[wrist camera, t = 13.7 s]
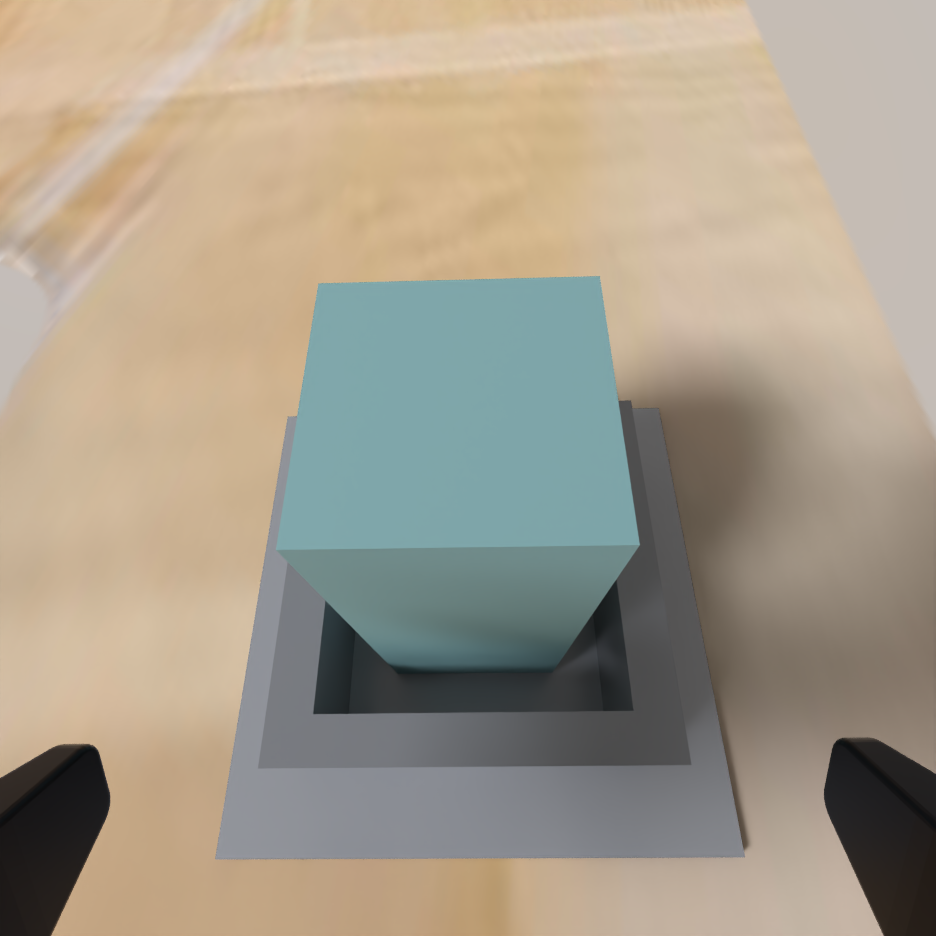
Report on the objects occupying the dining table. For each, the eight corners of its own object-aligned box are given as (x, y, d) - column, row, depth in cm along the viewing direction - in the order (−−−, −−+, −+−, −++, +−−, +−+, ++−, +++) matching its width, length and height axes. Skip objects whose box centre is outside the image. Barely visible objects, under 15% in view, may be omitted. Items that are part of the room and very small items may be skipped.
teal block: (552, 672, 18) (639, 545, 8) (397, 673, 19) (275, 549, 8) (542, 527, 21) (599, 276, 10) (405, 529, 21) (318, 283, 10)
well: (739, 855, 16) (817, 883, 12) (220, 857, 17) (140, 885, 13) (655, 413, 23) (689, 342, 19) (290, 421, 24) (251, 354, 20)
